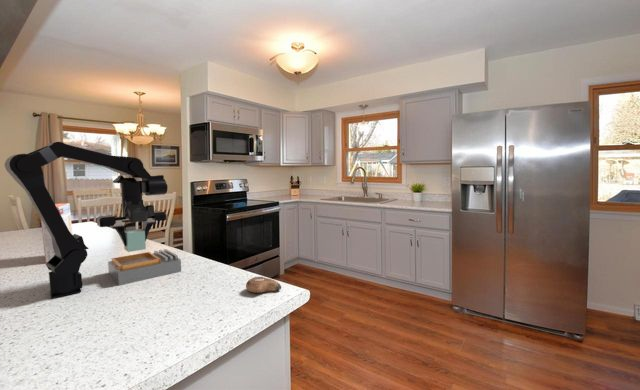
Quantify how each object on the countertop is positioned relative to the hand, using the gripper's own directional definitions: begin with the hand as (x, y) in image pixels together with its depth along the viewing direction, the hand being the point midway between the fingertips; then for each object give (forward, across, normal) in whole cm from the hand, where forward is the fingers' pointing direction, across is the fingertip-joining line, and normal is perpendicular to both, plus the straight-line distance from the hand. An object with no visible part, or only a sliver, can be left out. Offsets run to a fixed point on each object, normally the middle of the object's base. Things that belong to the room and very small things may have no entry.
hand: (134, 244), depth 101 cm
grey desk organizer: (+10, +3, 0) cm, 10 cm away
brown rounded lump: (+10, +22, -41) cm, 48 cm away
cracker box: (+10, -16, +43) cm, 47 cm away
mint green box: (+2, 0, +1) cm, 2 cm away
